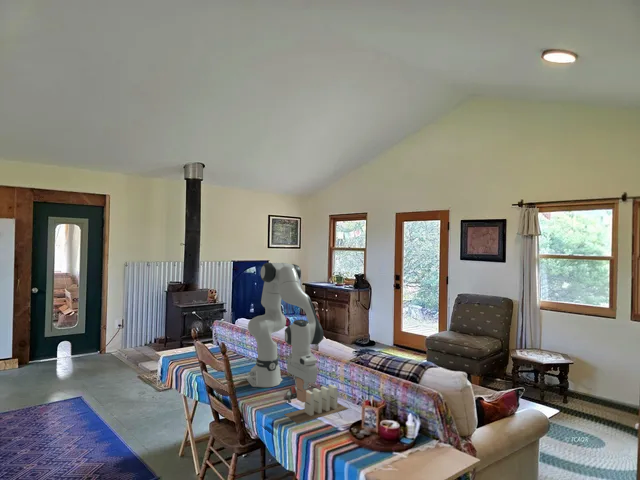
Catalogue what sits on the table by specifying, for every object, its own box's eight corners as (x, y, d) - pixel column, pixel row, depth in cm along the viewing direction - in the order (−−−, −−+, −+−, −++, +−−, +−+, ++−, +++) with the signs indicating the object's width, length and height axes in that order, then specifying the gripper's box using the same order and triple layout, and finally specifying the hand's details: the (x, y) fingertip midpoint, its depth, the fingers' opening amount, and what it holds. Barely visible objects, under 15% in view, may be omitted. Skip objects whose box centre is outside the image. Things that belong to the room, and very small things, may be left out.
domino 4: (326, 411, 198) (326, 390, 198) (320, 407, 203) (320, 386, 203) (329, 410, 200) (329, 389, 199) (323, 407, 204) (323, 386, 204)
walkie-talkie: (286, 391, 229) (287, 405, 209) (286, 382, 229) (287, 396, 209) (302, 390, 230) (305, 405, 210) (302, 382, 230) (305, 396, 210)
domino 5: (334, 409, 201) (334, 388, 201) (328, 405, 205) (328, 385, 205) (337, 408, 202) (337, 387, 202) (331, 404, 206) (331, 384, 206)
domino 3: (318, 413, 196) (318, 391, 196) (312, 410, 200) (312, 388, 200) (321, 412, 197) (321, 391, 197) (315, 409, 201) (315, 388, 201)
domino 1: (302, 402, 191) (302, 380, 191) (296, 399, 195) (296, 377, 195) (306, 401, 192) (305, 379, 192) (300, 398, 196) (300, 376, 196)
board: (283, 416, 195) (283, 414, 195) (333, 402, 211) (333, 400, 211) (297, 425, 185) (297, 423, 185) (348, 410, 201) (348, 408, 201)
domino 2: (310, 415, 193) (310, 393, 193) (304, 412, 197) (304, 390, 197) (313, 414, 194) (313, 393, 194) (307, 411, 199) (307, 389, 198)
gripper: (283, 352, 200) (283, 382, 200) (307, 362, 183) (307, 394, 183) (295, 350, 204) (295, 379, 204) (319, 360, 187) (319, 391, 187)
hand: (301, 387), depth 193 cm, fingers closed on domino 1, 5 cm apart
